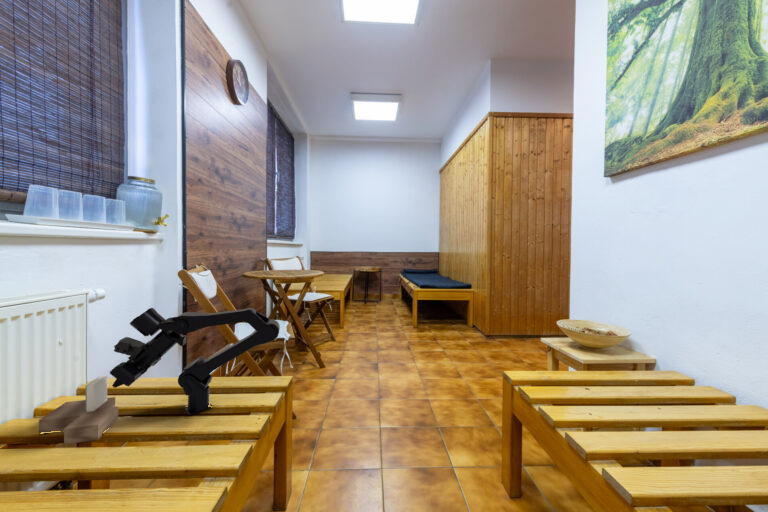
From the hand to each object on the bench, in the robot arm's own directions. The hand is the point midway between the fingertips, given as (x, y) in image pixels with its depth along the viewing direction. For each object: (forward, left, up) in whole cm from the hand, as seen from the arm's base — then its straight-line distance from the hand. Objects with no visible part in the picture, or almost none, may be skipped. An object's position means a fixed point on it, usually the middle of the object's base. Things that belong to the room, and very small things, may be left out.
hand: (114, 386), depth 89 cm
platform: (0, +7, -9) cm, 12 cm away
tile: (+2, +3, -5) cm, 7 cm away
